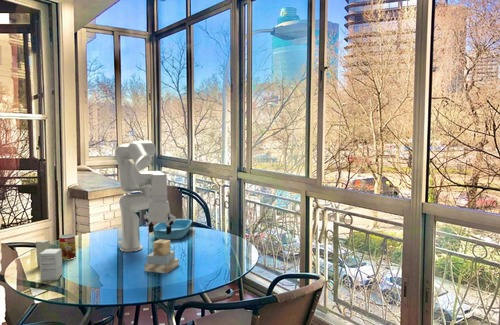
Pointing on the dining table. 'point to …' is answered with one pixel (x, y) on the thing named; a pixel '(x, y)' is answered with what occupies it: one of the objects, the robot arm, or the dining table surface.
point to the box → (41, 248)
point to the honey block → (161, 247)
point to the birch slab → (162, 267)
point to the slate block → (160, 258)
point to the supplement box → (51, 264)
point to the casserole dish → (172, 229)
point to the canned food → (67, 246)
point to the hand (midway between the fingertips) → (159, 233)
